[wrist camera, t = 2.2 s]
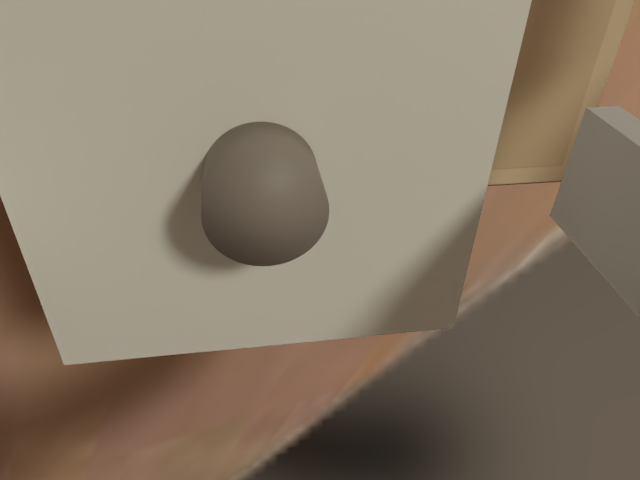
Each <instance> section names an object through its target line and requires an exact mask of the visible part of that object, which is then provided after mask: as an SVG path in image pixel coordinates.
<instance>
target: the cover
mask: <svg viewBox="0 0 640 480" xmlns="http://www.w3.org/2000/svg"><path fill="white" fill-rule="evenodd" d="M531 2H532V0H0V196H1V199H2V202H3V204H4V207H5V210H6V212H7V215H8V218H9V220H10V223H11V225H12V228H13V231H14V233H15V236H16V239H17V241H18V244H19V247H20V249H21V252H22V255H23V257H24V260H25V263H26V265H27V268H28V271H29V273H30V276H31V279H32V281H33V284H34V286H35V289H36V292H37V294H38V297H39V300H40V302H41V305H42V308H43V310H44V313H45V316H46V318H47V321H48V324H49V326H50V329H51V332H52V334H53V337H54V339H55V342H56V345H57V347H58V350H59V353H60V355H61V358H62V361H63V363H64V365H71V364H81V363H92V362H102V361H113V360H123V359H134V358H144V357H154V356H165V355H175V354H186V353H196V352H207V351H217V350H228V349H238V348H248V347H259V346H269V345H280V344H290V343H301V342H311V341H322V340H332V339H342V338H353V337H363V336H374V335H384V334H395V333H405V332H416V331H426V330H436V329H447V328H453V327H454V323H455V319H456V315H457V310H458V306H459V302H460V298H461V294H462V290H463V285H464V281H465V277H466V273H467V269H468V265H469V260H470V256H471V252H472V248H473V244H474V240H475V235H476V231H477V227H478V223H479V219H480V214H481V210H482V206H483V202H484V198H485V194H486V189H487V185H488V181H489V177H490V173H491V169H492V164H493V160H494V156H495V152H496V148H497V144H498V139H499V135H500V131H501V127H502V123H503V119H504V114H505V110H506V106H507V102H508V98H509V94H510V89H511V85H512V81H513V77H514V73H515V69H516V64H517V60H518V56H519V52H520V48H521V44H522V39H523V35H524V31H525V27H526V23H527V18H528V14H529V10H530V6H531Z"/></svg>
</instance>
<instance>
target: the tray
mask: <svg viewBox="0 0 640 480" xmlns="http://www.w3.org/2000/svg"><path fill="white" fill-rule="evenodd" d="M634 2H635V0H532V2H531V6H530V10H529V14H528V18H527V23H526V27H525V31H524V35H523V39H522V44H521V48H520V52H519V56H518V60H517V64H516V69H515V73H514V77H513V81H512V85H511V89H510V94H509V98H508V102H507V106H506V110H505V114H504V119H503V123H502V127H501V131H500V135H499V139H498V144H497V148H496V152H495V156H494V160H493V164H492V169H491V173H490V177H489V181H488V185H496V184H513V183H530V182H548V181H562V178H563V175H564V172H565V169H566V166H567V163H568V160H569V157H570V154H571V151H572V148H573V145H574V142H575V139H576V136H577V133H578V130H579V127H580V124H581V121H582V118H583V115H584V112H585V109H586V107H599V104H600V101H601V98H602V95H603V92H604V89H605V86H606V83H607V80H608V78H609V75H610V72H611V69H612V66H613V63H614V60H615V57H616V54H617V51H618V49H619V46H620V43H621V40H622V37H623V34H624V31H625V28H626V25H627V22H628V20H629V17H630V14H631V11H632V8H633V5H634Z"/></svg>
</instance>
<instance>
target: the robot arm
mask: <svg viewBox="0 0 640 480" xmlns="http://www.w3.org/2000/svg"><path fill="white" fill-rule="evenodd" d="M550 216H551V217H552V219H553V220H554V221H555V222H556V223H557V224H558V225H559V227H560V228H561V229H562V230H563V231H564V232H565V233H566V235H567V236H568V237H569V238H570V239H571V240H572V241H573V243H574V244H575V245H576V246H577V247H578V248H579V250H580V251H581V252H582V253H583V254H584V255H585V256H586V258H587V259H588V260H589V261H590V262H591V263H592V264H593V265H594V267H595V268H596V269H597V270H598V271H599V272H600V273H601V275H602V276H603V277H604V278H605V279H606V280H607V281H608V283H609V284H610V285H611V286H612V287H613V288H614V290H615V291H616V292H617V293H618V294H619V295H620V296H621V298H622V299H623V300H624V301H625V302H626V303H627V304H628V306H629V307H630V308H631V309H632V310H633V311H634V312H635V314H636V315H637V316H638V317H639V318H640V120H639V119H638V118H636V117H635V116H633V115H632V114H630V113H629V112H627V111H625V110H624V109H622V108H621V107H619V106H614V107H586V109H585V112H584V115H583V118H582V121H581V124H580V127H579V130H578V133H577V136H576V139H575V142H574V145H573V148H572V151H571V154H570V157H569V160H568V163H567V166H566V169H565V172H564V175H563V178H562V181H561V184H560V187H559V190H558V193H557V196H556V199H555V202H554V205H553V208H552V211H551V214H550Z"/></svg>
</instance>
